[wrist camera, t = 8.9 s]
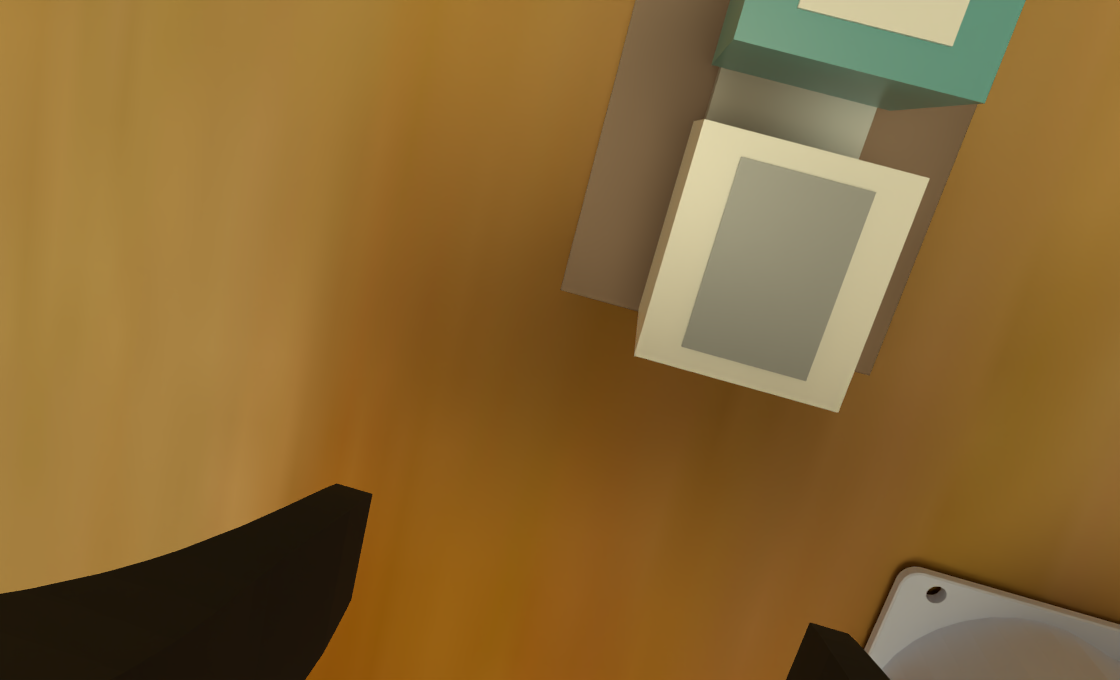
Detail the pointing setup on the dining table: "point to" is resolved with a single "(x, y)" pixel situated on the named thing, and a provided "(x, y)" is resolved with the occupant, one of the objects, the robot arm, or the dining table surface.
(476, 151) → the dining table surface
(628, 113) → the mounting board
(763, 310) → the mounted module
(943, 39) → the block
